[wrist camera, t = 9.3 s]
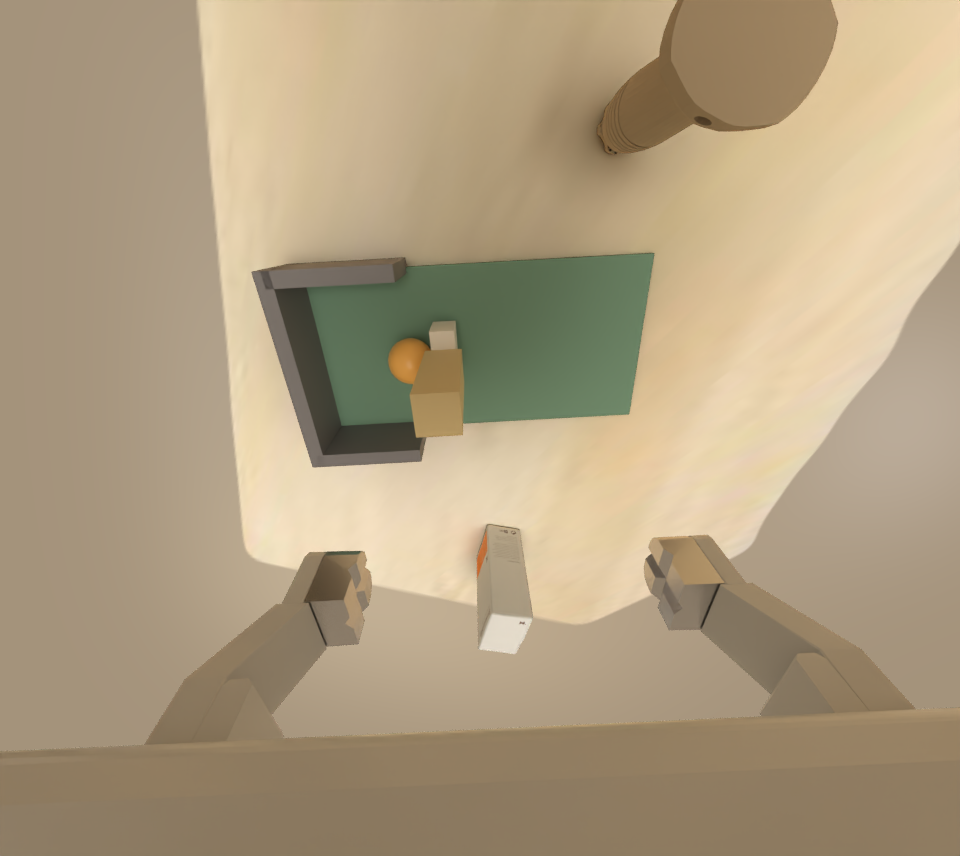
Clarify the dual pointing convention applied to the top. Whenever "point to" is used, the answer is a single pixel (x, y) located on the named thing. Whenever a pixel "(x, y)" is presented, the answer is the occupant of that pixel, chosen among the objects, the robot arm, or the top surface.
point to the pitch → (493, 336)
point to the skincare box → (502, 591)
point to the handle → (723, 70)
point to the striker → (439, 385)
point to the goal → (308, 368)
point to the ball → (406, 359)
